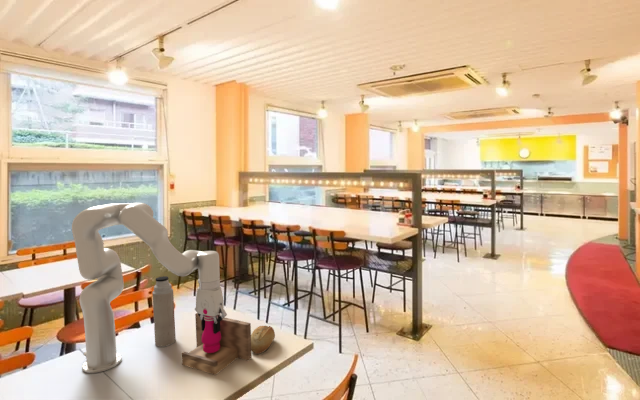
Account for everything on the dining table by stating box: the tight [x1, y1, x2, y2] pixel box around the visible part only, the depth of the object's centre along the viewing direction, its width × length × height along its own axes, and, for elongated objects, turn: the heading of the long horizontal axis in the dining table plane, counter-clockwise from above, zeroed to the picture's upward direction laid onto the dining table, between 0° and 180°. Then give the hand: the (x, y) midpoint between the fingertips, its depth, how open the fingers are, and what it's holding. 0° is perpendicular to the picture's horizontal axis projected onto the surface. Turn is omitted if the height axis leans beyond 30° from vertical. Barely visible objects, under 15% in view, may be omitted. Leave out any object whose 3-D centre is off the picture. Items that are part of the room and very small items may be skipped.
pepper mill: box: [201, 308, 221, 353], centre depth 134 cm, size 7×7×20 cm
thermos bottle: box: [152, 275, 177, 348], centre depth 148 cm, size 8×8×28 cm
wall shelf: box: [181, 312, 252, 376], centre depth 135 cm, size 26×14×14 cm, turn 65°
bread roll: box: [251, 325, 276, 354], centre depth 145 cm, size 10×15×8 cm, turn 171°
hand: (211, 330), depth 134 cm, fingers closed on pepper mill, 5 cm apart
